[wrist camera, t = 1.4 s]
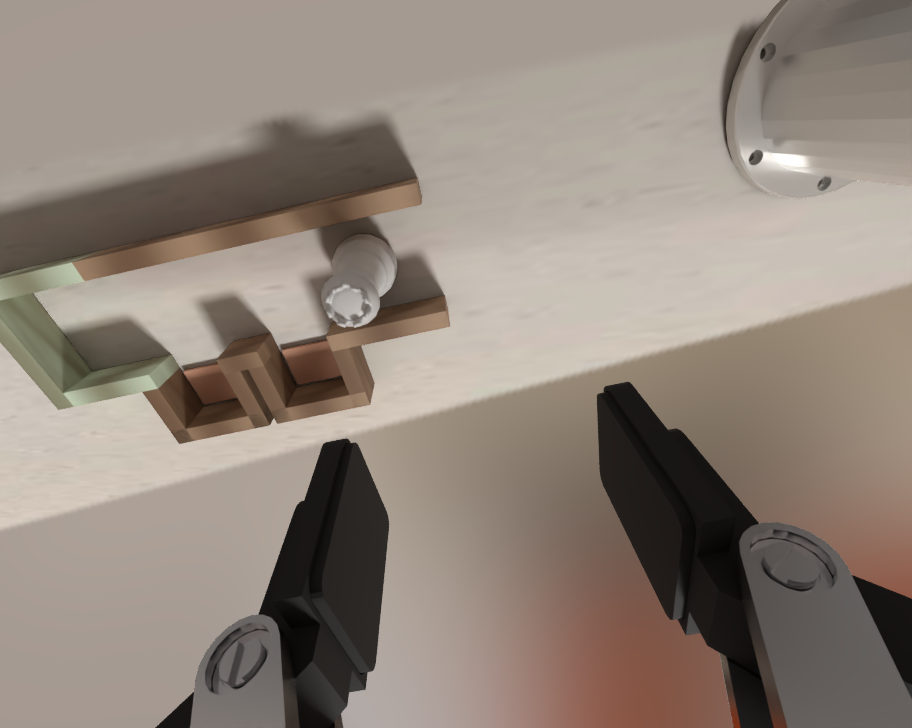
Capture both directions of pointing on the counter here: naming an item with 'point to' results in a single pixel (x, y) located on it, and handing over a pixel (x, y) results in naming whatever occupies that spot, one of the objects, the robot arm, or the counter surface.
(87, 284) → the counter surface
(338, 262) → the rook chess piece
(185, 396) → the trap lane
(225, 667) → the robot arm
